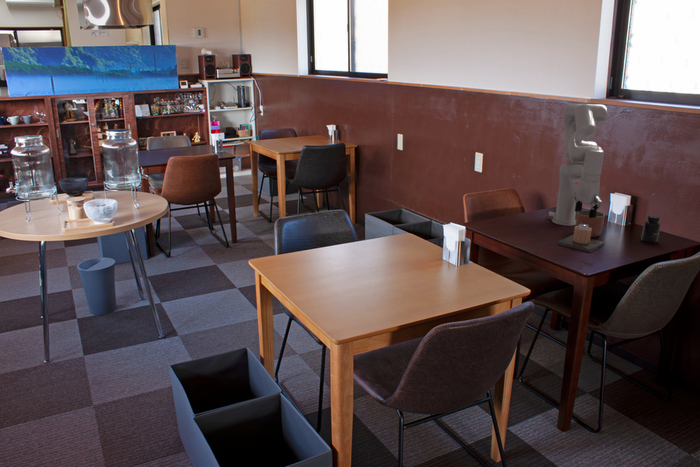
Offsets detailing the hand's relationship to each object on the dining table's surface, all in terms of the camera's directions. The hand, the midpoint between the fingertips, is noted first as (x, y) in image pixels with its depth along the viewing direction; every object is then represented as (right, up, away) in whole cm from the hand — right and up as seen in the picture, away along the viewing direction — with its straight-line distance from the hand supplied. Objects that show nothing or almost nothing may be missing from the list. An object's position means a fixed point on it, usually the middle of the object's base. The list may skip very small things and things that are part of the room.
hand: (584, 214), depth 246 cm
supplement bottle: (+35, -12, +11) cm, 38 cm away
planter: (+9, -9, +18) cm, 23 cm away
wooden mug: (0, -12, +3) cm, 12 cm away
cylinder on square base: (0, -14, +4) cm, 14 cm away
